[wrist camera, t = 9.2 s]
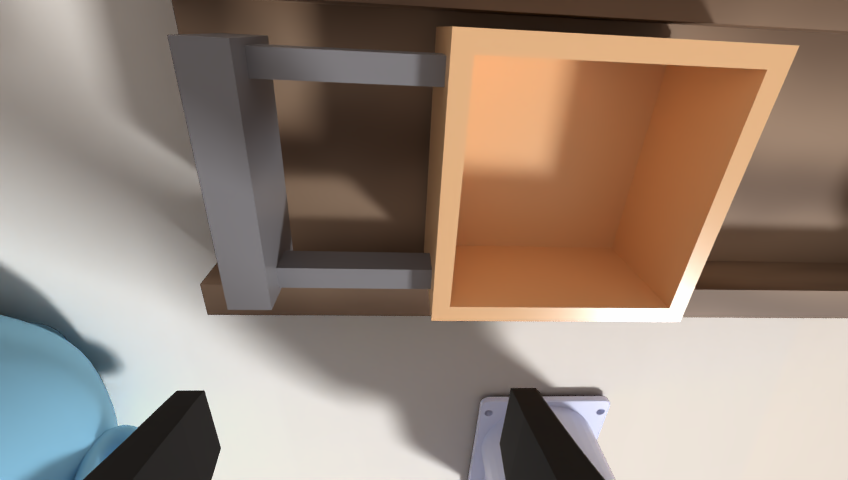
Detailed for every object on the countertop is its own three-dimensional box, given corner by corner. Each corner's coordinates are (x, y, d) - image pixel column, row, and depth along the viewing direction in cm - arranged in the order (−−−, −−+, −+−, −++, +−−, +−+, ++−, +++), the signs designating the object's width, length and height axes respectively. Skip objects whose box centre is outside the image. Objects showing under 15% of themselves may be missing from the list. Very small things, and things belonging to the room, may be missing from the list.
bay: (879, 279, 22) (1059, 375, 16) (236, 271, 20) (163, 379, 14) (1067, 4, 16) (1470, -10, 10) (171, -56, 14) (-9, -120, 8)
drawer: (614, 253, 19) (681, 323, 14) (273, 247, 18) (230, 321, 13) (680, 39, 15) (802, 46, 10) (239, 15, 14) (161, 10, 9)
